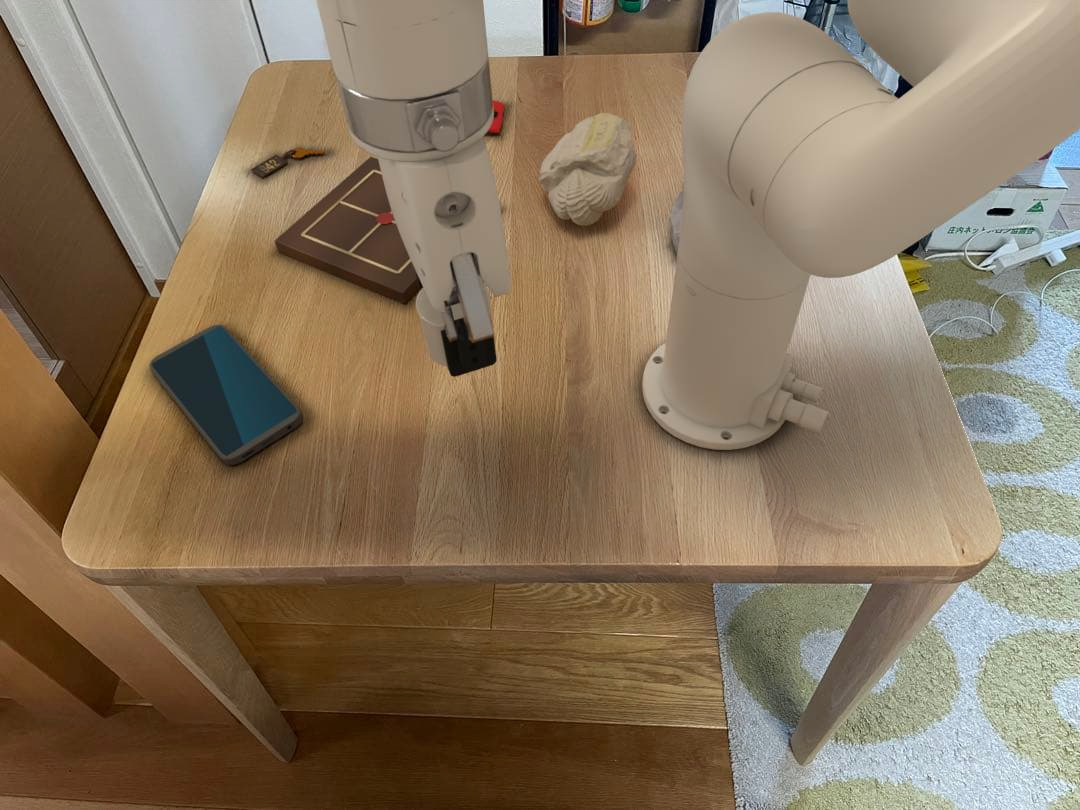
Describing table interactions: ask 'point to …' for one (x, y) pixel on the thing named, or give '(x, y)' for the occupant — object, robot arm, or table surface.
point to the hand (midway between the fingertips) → (459, 337)
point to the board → (355, 236)
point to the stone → (438, 325)
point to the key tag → (281, 161)
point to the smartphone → (226, 394)
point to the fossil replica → (589, 168)
